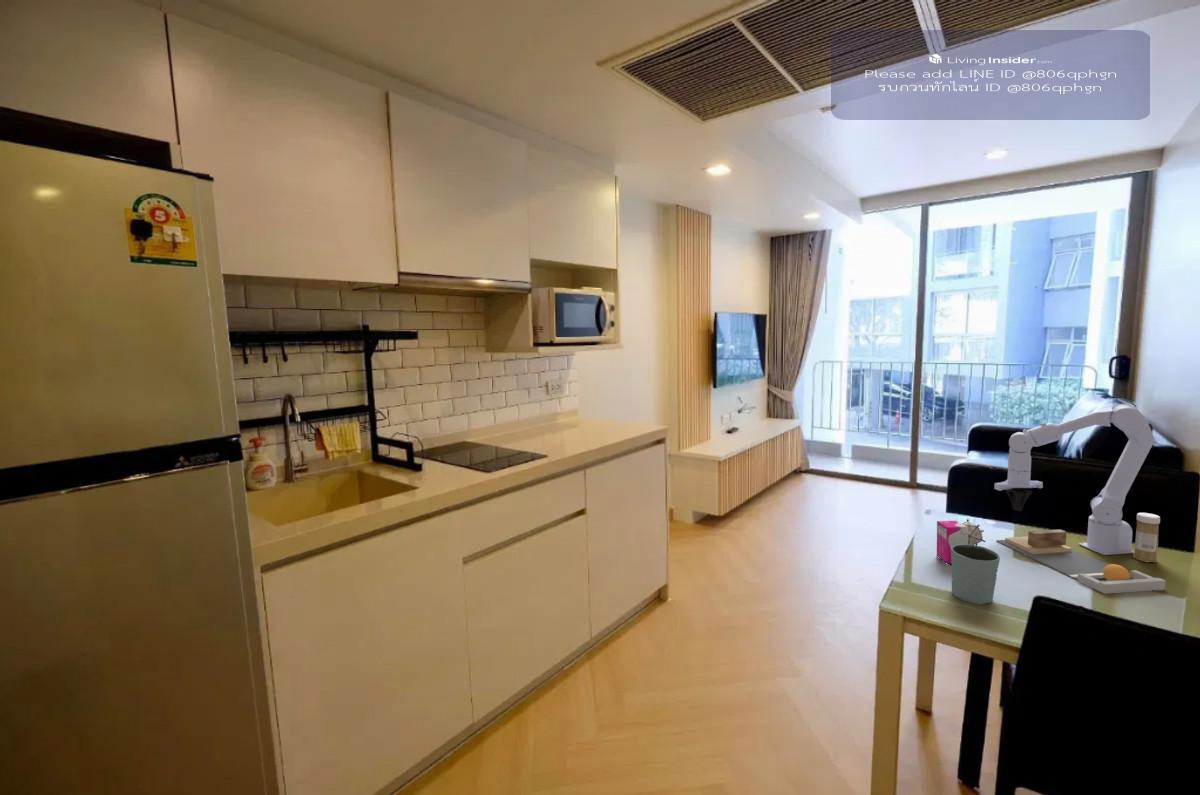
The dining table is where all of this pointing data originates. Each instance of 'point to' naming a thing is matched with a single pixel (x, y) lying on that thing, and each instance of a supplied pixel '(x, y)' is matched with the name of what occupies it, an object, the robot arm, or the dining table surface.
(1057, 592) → the dining table surface
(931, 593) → the dining table surface
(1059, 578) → the dining table surface
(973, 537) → the game die
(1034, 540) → the pusher bar
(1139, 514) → the sprinkles bottle
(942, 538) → the supplement box
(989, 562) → the grey-green plant pot
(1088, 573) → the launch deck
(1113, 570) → the ball
